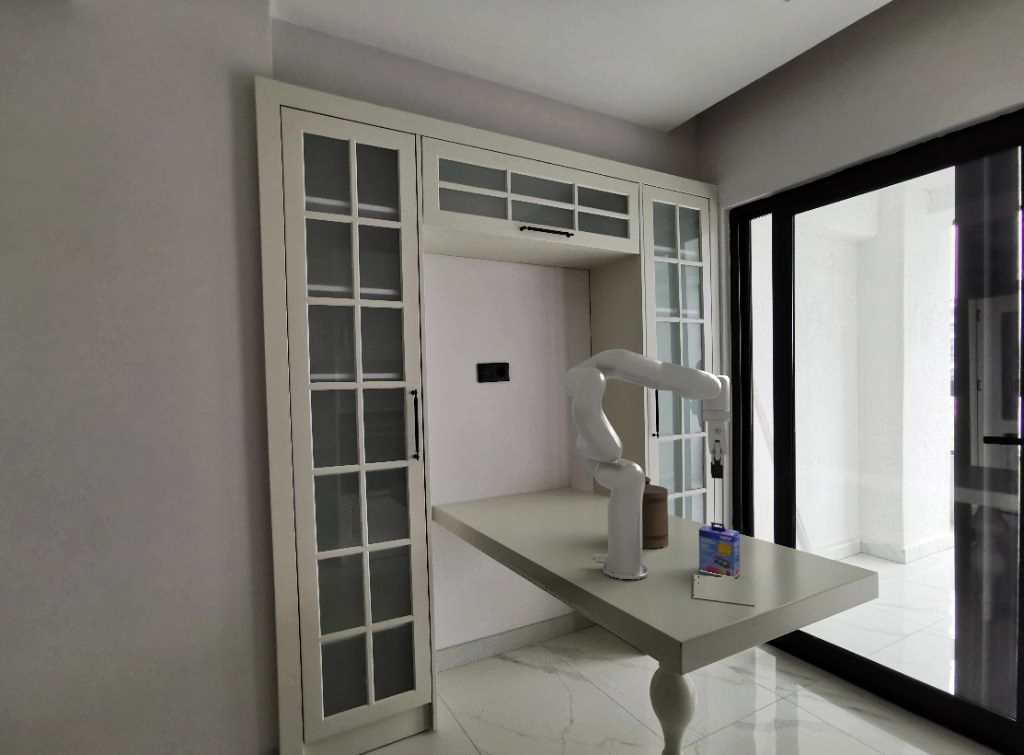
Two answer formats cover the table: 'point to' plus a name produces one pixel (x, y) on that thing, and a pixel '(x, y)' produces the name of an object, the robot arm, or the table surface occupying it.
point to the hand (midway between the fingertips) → (716, 475)
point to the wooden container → (654, 516)
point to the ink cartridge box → (719, 550)
